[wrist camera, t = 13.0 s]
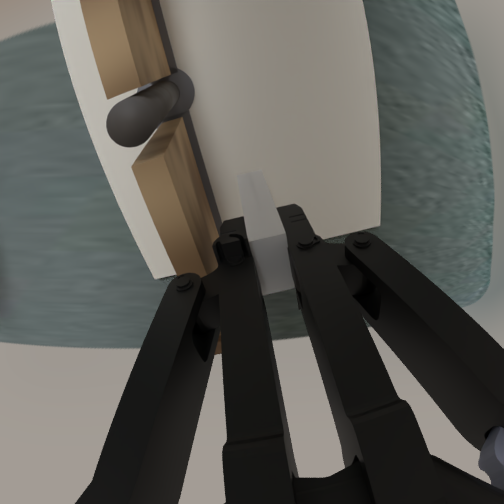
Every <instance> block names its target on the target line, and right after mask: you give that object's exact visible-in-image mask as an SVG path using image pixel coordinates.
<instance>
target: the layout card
mask: <svg viewBox="0 0 504 504" xmlns="http://www.w3.org/2000/svg"><path fill="white" fill-rule="evenodd" d="M151 2H152V6H153V10H154V13H155V17H156V21H157V25H158V29H159V32H160V36H161V40H162V43H163V47H164V51H165V54H166V58H167V62H168V65H169V69H170V72H171V75H169V76H166V77H163V78H161V79H158V80H156V81H153V82H151V83H149V84H146V85H144V86H142V87H139V88H136V89H134V90H131V91H128V92H126V93H123V94H120V95H118V96H115V97H113V98H111V99H108V100H107V97H106V94H105V91H104V88H103V85H102V82H101V78H100V75H99V72H98V69H97V65H96V62H95V58H94V55H93V51H92V48H91V44H90V40H89V37H88V33H87V29H86V25H85V21H84V17H83V13H82V9H81V4H80V0H51V3H52V8H53V12H54V17H55V21H56V26H57V30H58V34H59V38H60V42H61V45H62V49H63V53H64V56H65V60H66V63H67V67H68V70H69V74H70V77H71V80H72V83H73V87H74V90H75V93H76V96H77V99H78V102H79V105H80V108H81V111H82V114H83V117H84V119H85V122H86V125H87V128H88V130H89V133H90V136H91V139H92V141H93V144H94V146H95V149H96V152H97V154H98V157H99V159H100V162H101V164H102V167H103V169H104V172H105V174H106V176H107V179H108V181H109V184H110V186H111V188H112V191H113V193H114V195H115V198H116V200H117V202H118V204H119V207H120V209H121V211H122V213H123V215H124V218H125V220H126V222H127V224H128V226H129V228H130V230H131V233H132V235H133V237H134V239H135V241H136V243H137V245H138V247H139V249H140V251H141V253H142V255H143V257H144V259H145V261H146V263H147V265H148V267H149V269H150V271H151V273H152V275H153V277H154V279H159V278H163V277H168V276H172V275H176V272H175V270H174V268H173V266H172V263H171V261H170V259H169V257H168V255H167V252H166V250H165V248H164V246H163V243H162V241H161V239H160V236H159V234H158V232H157V230H156V227H155V225H154V223H153V220H152V218H151V215H150V213H149V211H148V208H147V206H146V203H145V201H144V199H143V196H142V194H141V191H140V189H139V186H138V184H137V181H136V178H135V176H134V173H133V171H132V168H131V166H132V165H133V163H134V162H135V160H136V159H137V157H138V156H139V154H140V153H141V151H142V150H143V148H144V147H145V145H146V144H147V143H148V141H149V140H150V138H151V137H152V136H153V134H154V133H155V131H156V130H157V129H158V127H159V126H160V125H161V123H164V122H167V121H170V120H174V119H177V118H180V117H183V121H184V124H185V127H186V131H187V134H188V138H189V141H190V144H191V148H192V151H193V154H194V157H195V161H196V164H197V167H198V171H199V174H200V177H201V180H202V184H203V187H204V190H205V193H206V196H207V200H208V203H209V206H210V209H211V212H212V216H213V219H214V222H215V225H216V228H217V231H218V234H219V237H220V226H221V225H222V223H223V221H225V220H229V219H233V218H237V217H241V216H244V215H243V209H242V204H241V198H240V192H239V187H238V181H237V175H240V174H244V173H248V172H253V171H257V170H262V173H263V175H264V178H265V180H266V183H267V185H268V188H269V190H270V193H271V196H272V198H273V201H274V203H275V206H276V208H277V207H281V206H286V205H290V204H294V203H295V204H296V205H298V206H300V207H301V208H302V209H303V211H304V213H305V215H306V217H307V219H308V221H309V223H310V225H311V226H312V228H313V230H314V232H315V234H316V235H318V236H320V237H321V238H322V239H327V238H331V237H335V236H339V235H344V234H348V233H352V232H356V231H360V230H364V229H368V228H373V227H377V226H380V216H381V157H380V133H379V116H378V104H377V93H376V83H375V74H374V66H373V58H372V51H371V44H370V38H369V32H368V26H367V21H366V16H365V10H364V5H363V1H362V0H151ZM165 80H167V81H171V82H174V83H175V84H176V85H177V86H178V88H179V91H180V96H179V99H178V101H177V103H176V104H175V105H174V106H173V108H172V109H171V110H170V111H169V113H168V114H167V115H166V116H165V118H164V119H163V120H162V122H161V123H160V124H159V126H158V127H157V128H156V130H155V131H154V132H153V134H152V135H151V136H150V138H149V139H148V140H147V141H146V142H145V143H143V144H141V145H139V146H137V147H130V148H128V147H123V146H120V145H118V144H116V143H115V142H114V141H113V140H112V139H111V138H110V136H109V134H108V132H107V128H106V120H107V116H108V113H109V112H110V110H111V109H112V107H113V106H114V105H115V104H117V103H118V102H120V101H122V100H124V99H126V98H128V97H130V96H131V95H133V94H135V93H137V92H139V91H141V90H144V89H146V88H148V87H150V86H152V85H154V84H156V83H158V82H161V81H165Z"/></svg>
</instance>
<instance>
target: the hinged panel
mask: <svg viewBox="0 0 504 504" xmlns="http://www.w3.org/2000/svg"><path fill="white" fill-rule="evenodd" d="M131 168H132V171H133V173H134V176H135V178H136V181H137V184H138V186H139V189H140V191H141V194H142V196H143V199H144V201H145V203H146V206H147V208H148V211H149V213H150V215H151V218H152V220H153V223H154V225H155V227H156V230H157V232H158V234H159V236H160V239H161V241H162V243H163V246H164V248H165V250H166V252H167V255H168V257H169V259H170V261H171V263H172V266H173V268H174V270H175V272H176V274H177V276H179V275H181V274H184V273H196V274H198V275H199V276H200V278H202V277H204V276H206V275H208V274H210V273H211V272H213V271H214V270H215V269H217V267H218V263H217V260H216V257H215V254H214V251H213V248H212V245H213V242H214V241H215V240H216V239H217V238H218V237H219V234H218V231H217V228H216V225H215V222H214V219H213V216H212V212H211V209H210V206H209V203H208V200H207V196H206V193H205V190H204V187H203V184H202V180H201V177H200V174H199V171H198V167H197V164H196V161H195V157H194V154H193V151H192V148H191V144H190V141H189V138H188V134H187V131H186V127H185V124H184V121H183V117H180V118H177V119H174V120H170V121H167V122H164V123H161V125H160V126H159V127H158V129H157V130H156V131H155V133H154V134H153V136H152V137H151V138H150V140H149V141H148V143H147V144H146V145H145V147H144V148H143V150H142V151H141V153H140V154H139V156H138V157H137V159H136V160H135V162H134V163H133V165H132V166H131ZM221 353H222V350H221V331H220V335H219V339H218V343H217V347H216V351H215V355H216V354H221Z"/></svg>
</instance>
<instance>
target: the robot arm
mask: <svg viewBox="0 0 504 504" xmlns="http://www.w3.org/2000/svg"><path fill="white" fill-rule="evenodd" d="M237 181H238V187H239V192H240V198H241V204H242V209H243V215H244V216H241V217H237V218H233V219H229V220H225V221H223V223H222V225H221V226H220V237H218V238H217V239H216V240H215V241H214V242H213V245H212V248H213V251H214V254H215V257H216V260H217V263H218V267H217V269H215V270H214V271H213V272H211V273H210V274H208V275H206V276H204V277H202V278H200V276H199V275H198V274H196V273H184V274H181V275H179V276H177V277H176V278H174V279H173V280H172V281H171V282H170V284H169V285H168V287H167V290H166V292H165V294H164V296H163V298H162V301H161V303H160V305H159V307H158V310H157V312H156V314H155V317H154V319H153V321H152V323H151V326H150V328H149V330H148V333H147V335H146V337H145V340H144V342H143V345H142V347H141V349H140V352H139V354H138V357H137V359H136V362H135V364H134V367H133V369H132V371H131V374H130V377H129V379H128V382H127V384H126V387H125V389H124V392H123V394H122V397H121V400H120V402H119V405H118V408H117V410H116V413H115V416H114V418H113V421H112V424H111V427H110V429H109V432H108V435H107V438H106V441H105V444H104V446H103V449H102V452H101V455H100V458H99V461H98V464H97V467H96V470H95V473H94V477H93V480H92V482H91V483H90V485H89V486H88V487H87V488H86V490H85V491H84V492H83V494H82V495H81V496H80V498H79V499H78V500H77V502H76V503H75V504H178V502H179V499H180V495H181V491H182V487H183V483H184V478H185V474H186V470H187V465H188V461H189V457H190V453H191V448H192V445H193V440H194V436H195V432H196V428H197V424H198V420H199V415H200V411H201V407H202V403H203V399H204V395H205V391H206V387H207V383H208V379H209V375H210V371H211V366H212V363H213V359H214V355H215V351H216V347H217V343H218V339H219V335H220V331H221V350H222V369H223V385H224V401H225V414H226V415H225V416H226V429H227V442H226V443H225V445H224V446H223V451H222V461H223V473H224V486H225V496H226V503H224V504H504V349H503V348H502V347H501V346H500V345H499V344H498V343H497V342H496V341H495V340H494V339H493V338H492V337H491V336H490V335H489V334H488V333H487V332H486V331H485V330H484V329H483V328H482V327H481V326H480V325H479V324H478V323H477V322H476V321H475V320H473V318H472V317H470V316H469V315H468V314H467V313H466V312H465V311H464V310H463V309H462V308H461V307H460V306H459V305H457V304H456V303H455V302H454V301H453V300H452V299H451V298H450V297H449V296H447V295H446V294H445V293H444V292H443V291H442V290H441V289H440V288H438V287H437V286H436V285H435V284H434V283H433V282H432V281H430V280H429V279H428V278H427V277H426V276H425V275H423V274H422V273H421V272H420V271H419V270H417V269H416V268H415V267H414V266H413V265H411V264H410V263H409V262H408V261H407V260H405V259H404V258H403V257H402V256H400V255H399V254H398V253H397V252H395V251H394V250H393V249H392V248H390V247H389V246H388V245H387V244H385V243H384V242H383V241H382V240H380V239H379V238H378V237H376V236H375V235H373V234H371V233H368V232H356V233H352V234H350V235H349V236H347V237H346V239H345V244H331V243H326V242H324V241H323V239H322V238H321V237H320V236H318V235H316V234H315V232H314V230H313V228H312V226H311V225H310V223H309V221H308V219H307V217H306V215H305V213H304V211H303V209H302V208H301V207H300V206H298V205H296V204H295V203H294V204H290V205H286V206H281V207H277V208H276V206H275V203H274V201H273V198H272V196H271V193H270V190H269V188H268V185H267V183H266V180H265V178H264V175H263V173H262V170H257V171H253V172H248V173H244V174H240V175H237ZM294 284H295V286H294ZM295 287H296V294H297V300H298V307H299V310H300V309H301V311H302V314H303V318H304V321H305V324H306V327H307V330H308V334H309V337H310V340H311V343H312V347H313V350H314V353H315V357H316V360H317V363H318V367H319V370H320V373H321V377H322V380H323V383H324V387H325V390H326V394H327V397H328V400H329V404H330V407H331V411H332V414H333V418H334V422H335V425H336V429H337V432H338V436H339V439H340V443H341V447H342V454H343V461H344V465H345V469H343V470H341V471H339V472H337V473H335V474H333V475H331V476H329V477H325V478H299V476H298V472H297V467H296V463H295V459H294V454H293V449H292V443H291V438H290V433H289V428H288V422H287V418H286V412H285V407H284V402H283V396H282V391H281V386H280V380H279V375H278V370H277V365H276V359H275V355H274V349H273V344H272V338H271V333H270V328H269V323H268V318H267V312H266V307H265V303H264V299H263V295H267V294H272V293H276V292H280V291H284V290H289V289H293V288H295ZM362 316H363V317H364V318H365V319H366V321H367V322H368V323H369V324H370V325H371V326H372V327H373V328H374V330H375V331H376V332H377V333H378V334H379V336H380V337H381V338H382V339H383V340H384V341H385V343H386V344H387V345H388V346H389V347H390V348H391V350H392V351H393V352H394V353H395V354H396V355H397V357H398V358H399V359H400V360H401V361H402V363H403V364H404V365H405V366H406V367H407V369H408V370H409V371H410V372H411V373H412V375H413V376H414V377H415V378H416V379H417V381H418V382H419V383H420V384H421V386H422V387H423V388H424V389H425V390H426V392H427V393H428V394H429V395H430V396H431V398H432V399H433V400H434V402H435V403H436V404H437V405H438V406H439V408H440V409H441V410H442V411H443V413H444V414H445V415H446V417H447V418H448V419H449V420H450V422H451V423H452V424H453V425H454V427H455V428H456V429H457V430H458V431H459V433H460V434H461V435H462V436H463V437H464V438H465V439H466V440H467V441H468V442H469V443H471V444H472V445H473V446H474V447H475V448H477V449H478V450H480V451H481V452H480V459H479V463H478V464H479V468H480V469H481V470H483V471H485V472H486V473H487V475H488V476H489V477H490V480H491V484H489V483H486V482H484V481H482V480H480V479H478V478H476V477H474V476H472V475H470V474H468V473H466V472H464V471H462V470H461V469H459V468H457V467H455V466H453V465H451V464H449V463H447V462H445V461H443V460H442V459H440V458H438V457H436V456H433V455H431V454H430V453H429V451H428V448H427V445H426V443H425V440H424V438H423V435H422V433H421V430H420V427H419V425H418V422H417V420H416V418H415V415H414V413H413V411H412V409H411V407H410V405H409V404H408V403H407V402H406V401H405V400H402V399H400V398H399V397H398V395H397V393H396V391H395V389H394V386H393V384H392V382H391V379H390V377H389V374H388V372H387V370H386V368H385V365H384V363H383V361H382V359H381V356H380V355H379V352H378V350H377V348H376V345H375V343H374V341H373V339H372V337H371V335H370V332H369V330H368V328H367V326H366V324H365V322H364V320H363V317H362Z"/></svg>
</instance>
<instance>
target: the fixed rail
mask: <svg viewBox="0 0 504 504" xmlns="http://www.w3.org/2000/svg"><path fill="white" fill-rule="evenodd" d="M80 4H81V9H82V13H83V17H84V21H85V25H86V29H87V33H88V37H89V40H90V44H91V48H92V51H93V55H94V58H95V62H96V65H97V69H98V72H99V75H100V78H101V82H102V85H103V88H104V91H105V94H106V97H107V100H108V99H111V98H113V97H115V96H118V95H120V94H123V93H126V92H128V91H131V90H134V89H136V88H139V87H142V86H144V85H146V84H149V83H151V82H153V81H156V80H158V79H161V78H163V77H166V76H169V75H171V72H170V69H169V65H168V62H167V58H166V54H165V51H164V47H163V43H162V40H161V36H160V32H159V29H158V25H157V21H156V17H155V13H154V10H153V6H152V2H151V0H80ZM179 96H180V91H179V88H178V86H177V85H176V84H175V83H174V82H171V81H167V80H165V81H161V82H158V83H156V84H154V85H152V86H150V87H148V88H146V89H144V90H141V91H139V92H137V93H135V94H133V95H131V96H130V97H128V98H126V99H124V100H122V101H120V102H118V103H117V104H115V105H114V106H113V107H112V109H111V110H110V112H109V113H108V116H107V120H106V128H107V132H108V134H109V136H110V138H111V139H112V140H113V141H114V142H115V143H116V144H118V145H120V146H123V147H128V148H130V147H137V146H139V145H141V144H143V143H145V142H146V141H147V140H148V139H149V138H150V136H151V135H152V134H153V132H154V131H155V130H156V128H157V127H158V126H159V124H160V123H161V122H162V120H163V119H164V118H165V116H166V115H167V114H168V113H169V111H170V110H171V109H172V108H173V106H174V105H175V104H176V103H177V101H178V99H179Z"/></svg>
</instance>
